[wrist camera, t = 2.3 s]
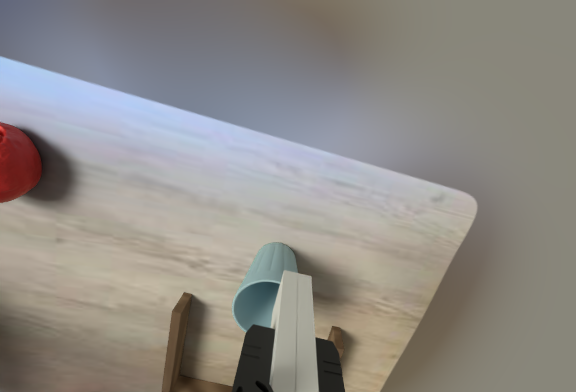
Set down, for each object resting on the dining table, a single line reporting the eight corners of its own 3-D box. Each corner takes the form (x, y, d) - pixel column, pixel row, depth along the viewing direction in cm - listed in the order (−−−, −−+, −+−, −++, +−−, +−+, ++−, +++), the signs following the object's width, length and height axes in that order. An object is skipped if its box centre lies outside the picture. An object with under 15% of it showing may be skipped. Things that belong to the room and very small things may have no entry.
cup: (258, 288, 40) (245, 346, 30) (241, 242, 38) (221, 289, 28) (308, 276, 39) (312, 333, 29) (294, 229, 37) (292, 272, 27)
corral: (171, 379, 46) (160, 403, 42) (184, 292, 41) (172, 311, 37) (309, 408, 47) (310, 434, 43) (340, 327, 42) (344, 349, 38)
